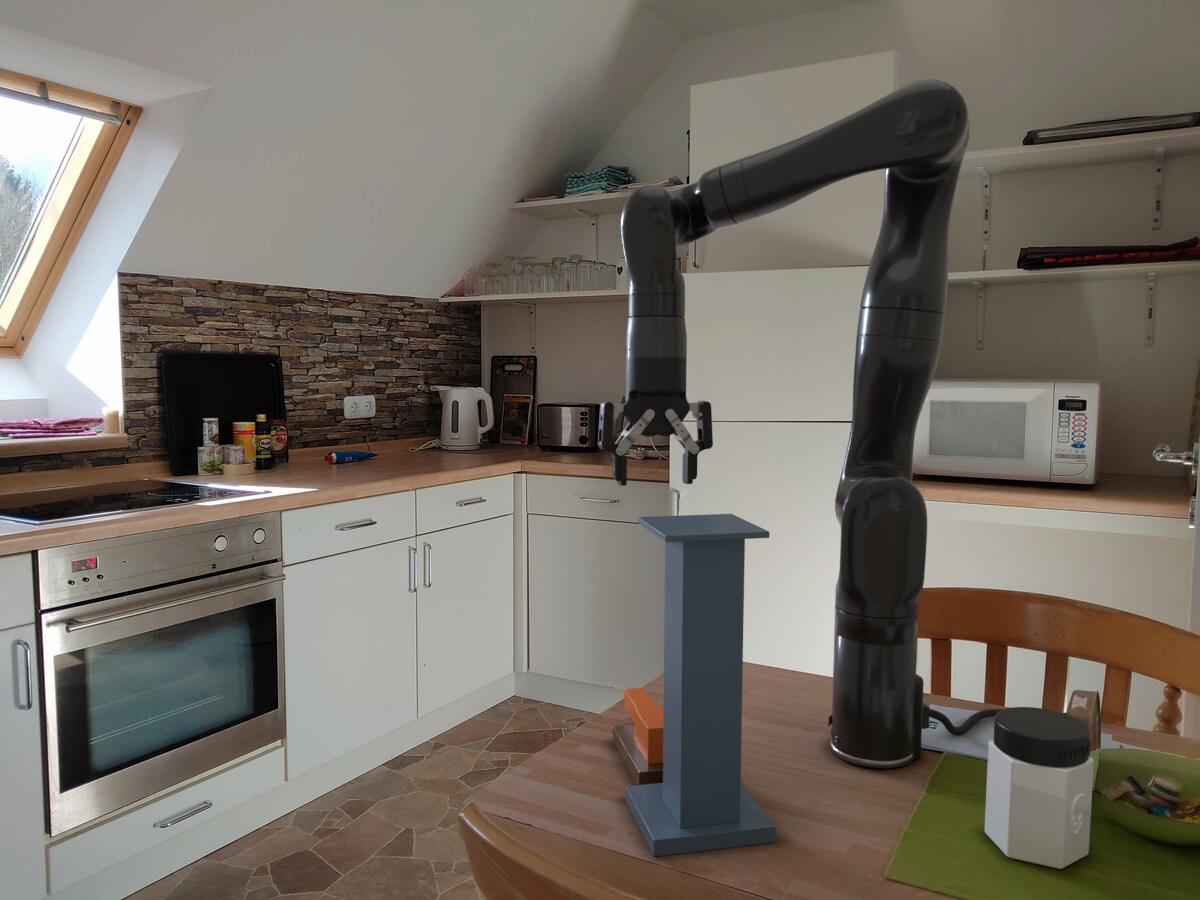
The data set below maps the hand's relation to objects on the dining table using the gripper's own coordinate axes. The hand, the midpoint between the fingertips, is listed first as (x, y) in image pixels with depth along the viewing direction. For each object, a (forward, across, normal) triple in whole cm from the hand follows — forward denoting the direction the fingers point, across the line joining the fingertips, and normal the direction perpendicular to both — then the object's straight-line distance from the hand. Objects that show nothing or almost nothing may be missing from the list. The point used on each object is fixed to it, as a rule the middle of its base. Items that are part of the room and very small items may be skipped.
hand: (655, 484), depth 116 cm
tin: (+30, +42, -26) cm, 58 cm away
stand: (+30, -3, -27) cm, 41 cm away
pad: (+30, -2, -13) cm, 33 cm away
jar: (+30, +27, -38) cm, 56 cm away
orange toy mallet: (+28, -3, -10) cm, 30 cm away
